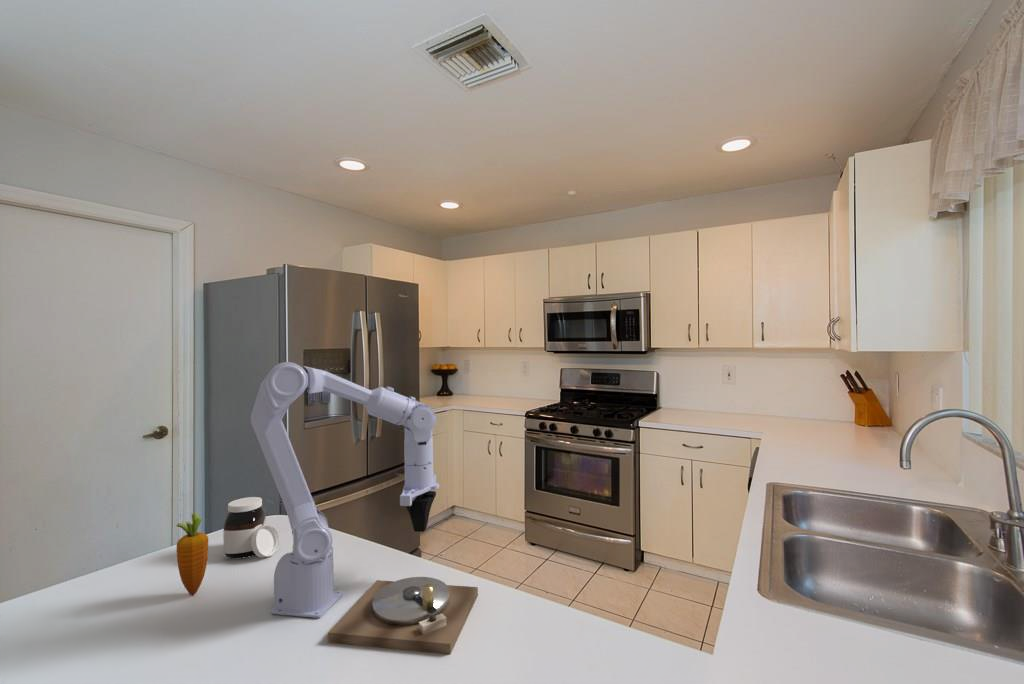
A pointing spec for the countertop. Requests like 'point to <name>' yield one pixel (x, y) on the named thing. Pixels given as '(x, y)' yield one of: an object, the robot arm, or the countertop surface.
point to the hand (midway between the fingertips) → (420, 530)
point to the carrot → (192, 555)
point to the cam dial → (410, 600)
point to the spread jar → (248, 530)
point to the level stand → (421, 636)
